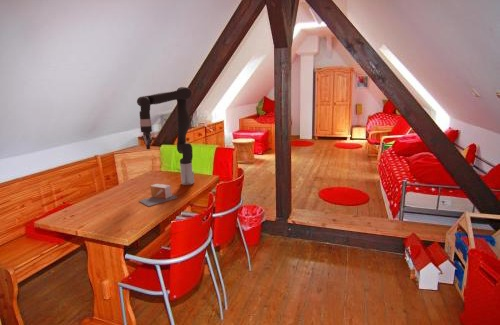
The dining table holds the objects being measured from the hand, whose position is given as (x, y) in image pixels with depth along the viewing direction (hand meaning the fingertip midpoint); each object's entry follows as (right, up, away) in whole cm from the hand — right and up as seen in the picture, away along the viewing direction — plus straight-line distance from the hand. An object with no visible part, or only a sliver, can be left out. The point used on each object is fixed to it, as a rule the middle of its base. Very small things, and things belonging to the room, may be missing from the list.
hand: (148, 149), depth 221 cm
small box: (+5, -29, -4) cm, 30 cm away
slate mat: (+11, -35, -11) cm, 38 cm away
